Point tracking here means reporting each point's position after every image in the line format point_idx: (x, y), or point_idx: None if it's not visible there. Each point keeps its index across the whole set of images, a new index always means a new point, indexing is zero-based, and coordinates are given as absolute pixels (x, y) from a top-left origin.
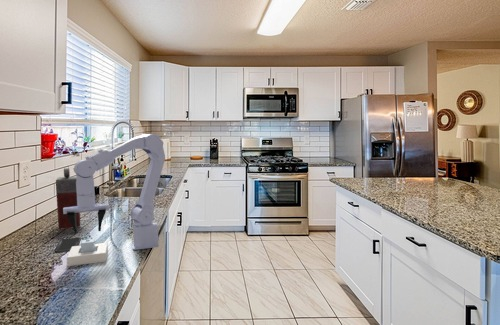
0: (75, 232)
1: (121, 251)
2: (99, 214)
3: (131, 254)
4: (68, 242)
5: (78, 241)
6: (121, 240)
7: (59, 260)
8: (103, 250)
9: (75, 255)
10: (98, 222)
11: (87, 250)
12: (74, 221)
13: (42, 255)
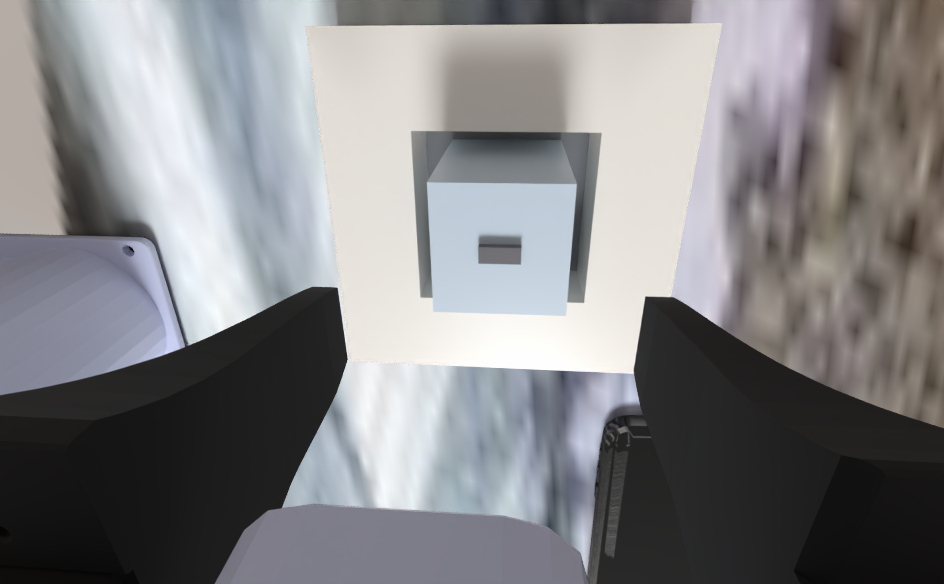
0: (666, 299)
1: (250, 252)
2: (66, 409)
3: (141, 138)
4: (668, 563)
5: (600, 558)
6: (304, 488)
7: (748, 226)
8: (343, 126)
9: (625, 65)
10: (258, 342)
11: (504, 158)
12: (751, 389)
13: (865, 398)
